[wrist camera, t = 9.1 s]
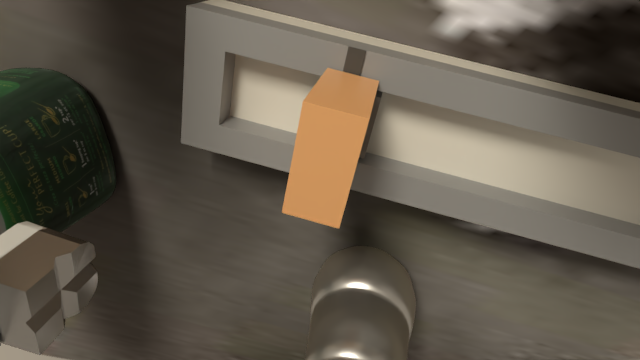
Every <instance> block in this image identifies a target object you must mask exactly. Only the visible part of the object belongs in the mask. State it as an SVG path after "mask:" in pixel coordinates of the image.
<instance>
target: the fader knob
mask: <svg viewBox="0 0 640 360" xmlns="http://www.w3.org/2000/svg"><path fill="white" fill-rule="evenodd" d="M378 84H379V81H378V80H374V79H370V78H366V77H362V76H358V75H354V74H350V73H346V72H342V71H338V70H335V69H331V68H327V69H326V70H325V72H324V73H323V75H322V76H321V77H320V79H319V80H318V81H317V83H316V84H315V85H314V87H313V88H312V89H311V91H310V92H309V94H308V95H307V96H306V98H305V99H304V100H303V103H302V108H301V114H300V119H299V124H298V130H297V135H296V140H295V146H294V151H293V156H292V161H291V167H290V172H289V177H288V183H287V188H286V193H285V198H284V204H283V209H282V213H285V214H289V215H292V216H296V217H299V218H303V219H306V220H310V221H313V222H317V223H321V224H324V225H328V226H331V227H335V228H338V229H339V227H340V224H341V220H342V217H343V213H344V209H345V206H346V202H347V199H348V195H349V191H350V188H351V184H352V181H353V177H354V173H355V170H356V166H357V163H358V159H359V158H363V159H364V157H365V153H366V150H367V146H368V143H369V139H370V136H371V132H372V129H373V125H374V122H375V118H376V115H377V111H378V108H379V104H380V101H381V97H382V92H381V91H377V88H378Z"/></svg>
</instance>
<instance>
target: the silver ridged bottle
mask: <svg viewBox="0 0 640 360" xmlns="http://www.w3.org/2000/svg"><path fill="white" fill-rule="evenodd" d="M415 313H416V298H415V294H414V290H413V286H412V282H411V278H410V276H409V274H408V272H407V270H406V269H405V268H404V267H403V265H402V264H401V263H400V262H398V261H397V260H396V259H395V258H394V257H392V256H391V255H389V254H388V253H386V252H384V251H382V250H380V249H377V248H374V247H369V246H353V247H349V248H346V249H342V250H339V251H338V252H336V253H334V254H332V255H331V256H330V257H329V258H328V259H326V261H325V262H324V264H323V265H322V267H321V269H320V270H319V272H318V274H317V276H316V277H315V280H314V283H313V288H312V297H311V307H310V317H311V322H310V328H309V334H308V341H307V347H306V353H305V359H304V360H407V356H408V346H409V339H410V336H411V332H412V329H413V325H414V319H415Z"/></svg>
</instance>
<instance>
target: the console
mask: <svg viewBox="0 0 640 360" xmlns="http://www.w3.org/2000/svg"><path fill="white" fill-rule="evenodd" d="M327 68H331V69H335V70H338V71H342V72H346V73H350V74H354V75H358V76H362V77H366V78H370V79H374V80H378V81H379V84H378V88H377V91H381V92H382V97H381V101H380V104H379V108H378V111H377V115H376V118H375V122H374V125H373V129H372V132H371V136H370V139H369V143H368V146H367V150H366V153H365V157H364V159H363V158H359V159H358V163H357V166H356V170H355V173H354V177H353V181H352V184H351V188H350V190H354V191H358V192H361V193H365V194H369V195H372V196H376V197H380V198H383V199H387V200H391V201H394V202H398V203H402V204H405V205H409V206H413V207H416V208H420V209H424V210H427V211H431V212H434V213H438V214H442V215H445V216H449V217H453V218H456V219H460V220H464V221H467V222H471V223H475V224H478V225H482V226H486V227H489V228H493V229H497V230H500V231H504V232H508V233H511V234H515V235H519V236H522V237H526V238H529V239H533V240H537V241H540V242H544V243H548V244H551V245H555V246H559V247H562V248H566V249H570V250H573V251H577V252H581V253H584V254H588V255H592V256H595V257H599V258H603V259H606V260H610V261H614V262H617V263H621V264H624V265H628V266H632V267H635V268H639V269H640V103H637V102H633V101H629V100H625V99H621V98H617V97H613V96H609V95H605V94H601V93H597V92H593V91H589V90H585V89H581V88H577V87H573V86H569V85H564V84H560V83H556V82H552V81H548V80H544V79H540V78H536V77H532V76H528V75H524V74H520V73H516V72H512V71H508V70H504V69H500V68H496V67H492V66H488V65H484V64H480V63H476V62H472V61H468V60H464V59H460V58H456V57H452V56H448V55H444V54H439V53H435V52H431V51H427V50H423V49H419V48H415V47H411V46H407V45H403V44H399V43H395V42H391V41H387V40H383V39H379V38H375V37H371V36H367V35H363V34H359V33H355V32H351V31H347V30H343V29H339V28H335V27H331V26H327V25H323V24H319V23H314V22H310V21H306V20H302V19H298V18H294V17H290V16H286V15H282V14H278V13H274V12H270V11H266V10H262V9H258V8H254V7H250V6H246V5H242V4H238V3H234V2H230V1H226V0H208V1H204V2H199V3H195V4H191V5H186V29H185V54H184V79H183V104H182V129H181V143H182V144H186V145H190V146H193V147H197V148H201V149H204V150H208V151H212V152H215V153H219V154H223V155H226V156H230V157H234V158H237V159H241V160H245V161H248V162H252V163H255V164H259V165H263V166H266V167H270V168H274V169H277V170H281V171H285V172H288V173H289V172H290V167H291V161H292V156H293V151H294V146H295V140H296V135H297V130H298V124H299V119H300V114H301V108H302V103H303V100H304V99H305V98H306V96H307V95H308V94H309V92H310V91H311V89H312V88H313V87H314V85H315V84H316V83H317V81H318V80H319V79H320V77H321V76H322V75H323V73H324V72H325V70H326V69H327Z"/></svg>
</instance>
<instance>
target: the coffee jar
mask: <svg viewBox="0 0 640 360" xmlns="http://www.w3.org/2000/svg"><path fill="white" fill-rule="evenodd" d="M115 186H116V171H115V166H114V160H113V156H112V152H111V148H110V145H109V142H108V139H107V136H106V133H105V130H104V127H103V124H102V121H101V119H100V117H99V114H98V112H97V110H96V107H95V105H94V103H93V101H92V99H91V98H90V96H89V94H88V93H87V92H86V91H85V89H84V88H83V87H82V86H81V85H79V84H78V83H77V82H75V81H74V80H73V79H71V78H70V77H68V76H67V75H65V74H62V73H60V72H57V71H54V70H49V69H42V68H15V69H8V70H4V71H0V235H1V234H2V233H4V232H5V231H7V230H8V229H10V228H11V227H13V226H14V225H16V224H17V223H21V222H26V221H28V222H31V223H34V224H37V225H40V226H43V227H46V228H49V229H52V230H55V231H58V232H62V231H63V230H65V229H67V228H68V227H69V226H71V225H73V224H74V223H76V222H77V221H79V220H80V219H82V218H83V217H85V216H86V215H88V214H89V213H90V212H92V211H93V210H95V209H96V208H97V207H99V206H100V205H101V204H103V203H104V202H105V201H106V200H108V199H109V198H110V197H111V195H112V194H113V192H114V189H115Z"/></svg>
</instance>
